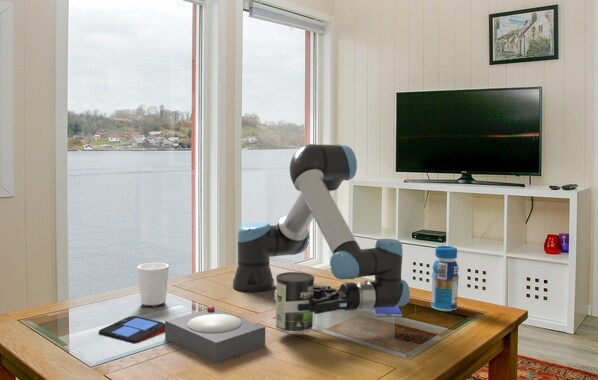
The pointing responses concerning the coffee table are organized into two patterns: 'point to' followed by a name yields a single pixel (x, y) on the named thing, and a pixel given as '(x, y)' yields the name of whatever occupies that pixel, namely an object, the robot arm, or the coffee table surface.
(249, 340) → the dome button box
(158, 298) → the cup
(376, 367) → the coffee table surface
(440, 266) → the beverage bottle
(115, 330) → the game console
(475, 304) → the coffee table surface
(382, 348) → the coffee table surface
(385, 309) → the hard drive
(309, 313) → the coffee can
